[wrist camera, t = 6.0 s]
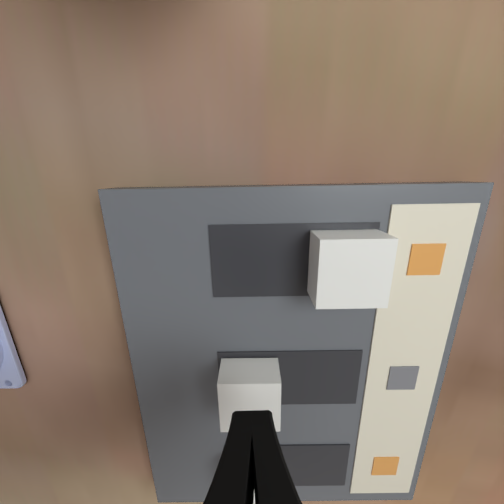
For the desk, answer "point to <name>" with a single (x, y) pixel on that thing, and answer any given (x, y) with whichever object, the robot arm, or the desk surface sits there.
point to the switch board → (291, 324)
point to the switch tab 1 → (248, 388)
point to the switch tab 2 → (351, 268)
